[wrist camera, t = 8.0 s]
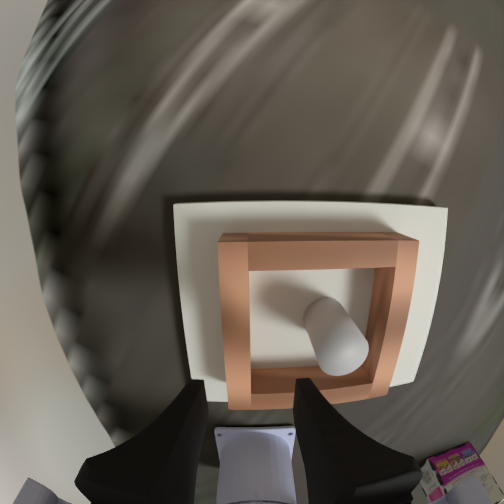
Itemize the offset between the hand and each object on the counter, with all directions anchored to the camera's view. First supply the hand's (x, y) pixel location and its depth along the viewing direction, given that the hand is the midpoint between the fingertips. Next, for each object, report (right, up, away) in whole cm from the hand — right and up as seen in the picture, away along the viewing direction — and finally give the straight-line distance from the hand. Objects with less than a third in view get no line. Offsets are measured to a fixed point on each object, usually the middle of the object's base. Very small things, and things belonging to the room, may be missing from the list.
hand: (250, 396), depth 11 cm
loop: (+4, +2, +8) cm, 9 cm away
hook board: (+5, +2, +9) cm, 11 cm away
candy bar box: (+33, -28, +17) cm, 46 cm away
